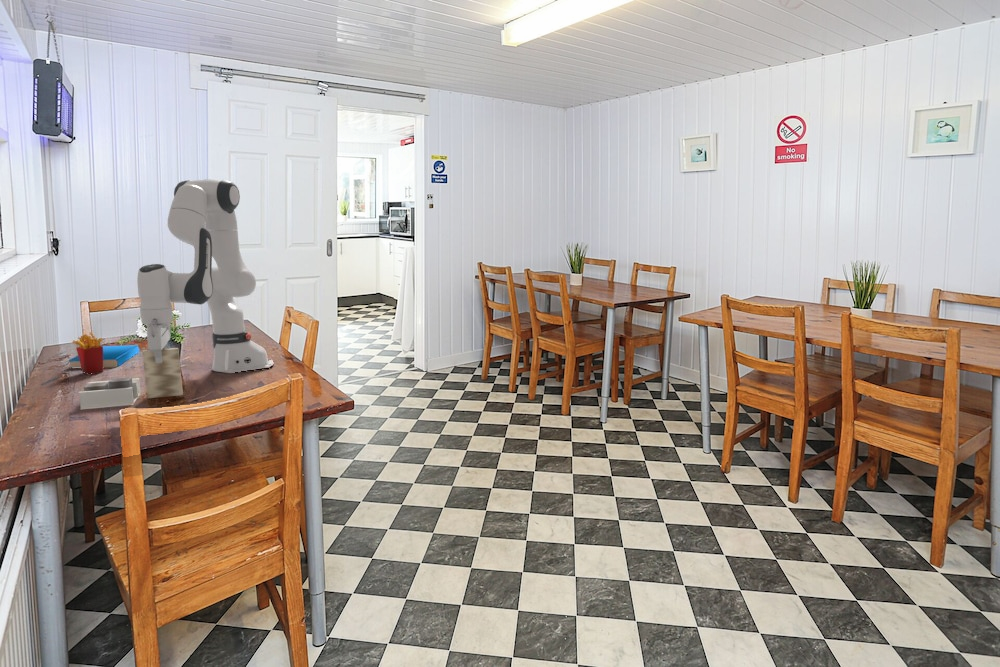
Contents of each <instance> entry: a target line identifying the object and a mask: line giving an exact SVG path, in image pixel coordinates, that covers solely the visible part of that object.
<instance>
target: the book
mask: <svg viewBox="0 0 1000 667" xmlns="http://www.w3.org/2000/svg"><path fill="white" fill-rule="evenodd" d="M102 346H103V367H105V368H117V367H120V366H121V365H123V364H124V363H125V362H127V361H128V360H130V359H131V358H133V357H134V356H136V355H138V354H139V353H140V347H139V346H138V344H127V345H126V344H125V345H123V344H122V345H102ZM138 352H139V353H138ZM135 354H136V355H135ZM132 356H133V357H132ZM68 362H69V363H70V364H69V365H70V368H71V367H81V364H80V360H79V356H78V355H77V356H74V357H72V358H70V359H69V360H68Z"/></svg>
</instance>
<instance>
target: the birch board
mask: <svg viewBox="0 0 1000 667" xmlns="http://www.w3.org/2000/svg"><path fill="white" fill-rule="evenodd" d="M141 352H142V362H143V371H144V377H145V380H144V381H145V388H146V389H145V390H146V397H147V399H154V398H155V399H157V398H164V397H165V398H167V397H176V396H183V395H184V391H183V380H182V370H181V361H180V350H179V347H172V348H171V347H170V348H167V349H162V352H161V353H162V359H163V361H162V363H156V361H155V356H154V354H153V352H150V351H149V349H143V350H142V351H141Z"/></svg>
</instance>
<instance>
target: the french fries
mask: <svg viewBox="0 0 1000 667" xmlns="http://www.w3.org/2000/svg"><path fill="white" fill-rule="evenodd" d="M103 340H104V339H103V337H99V338H97V337H95V335H94V334H93V333H92V332H89V335H87V334H86V333H84V334H83V335H81V336H80V337H79V336H78V337H77V340H73V341H72V343H73V344H75V345H77V347H75V348H76V352H77V356H79V360H80V364H81V368H82V369H81V370H82V373H83V372H85V373H88V374H91V373H96V374H98V373H97V372H101V373H103V372H104V368H103V346H104V345H100V344H101V342H102V341H103ZM85 373H84V374H85ZM88 374H87V375H88ZM91 375H92V374H91Z"/></svg>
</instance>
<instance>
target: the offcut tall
mask: <svg viewBox="0 0 1000 667" xmlns="http://www.w3.org/2000/svg"><path fill="white" fill-rule="evenodd" d="M132 379H133V377H131V376H129V377H118V378H117V377H116V378H115V377H114V378H110V380H108V381H109V382H108V384H109V389H119V388H131V387H132V388H133V385H132ZM133 397H134V393H133Z"/></svg>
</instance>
